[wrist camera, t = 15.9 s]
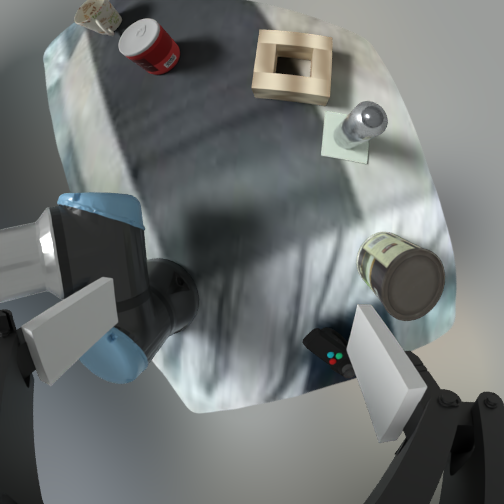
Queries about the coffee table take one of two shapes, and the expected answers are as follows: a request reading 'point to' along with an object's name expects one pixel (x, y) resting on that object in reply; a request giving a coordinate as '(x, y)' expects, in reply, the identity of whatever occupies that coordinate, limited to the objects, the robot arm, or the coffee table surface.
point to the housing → (291, 85)
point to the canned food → (149, 46)
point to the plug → (360, 125)
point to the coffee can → (401, 275)
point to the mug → (98, 16)
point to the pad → (333, 149)
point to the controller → (330, 350)
